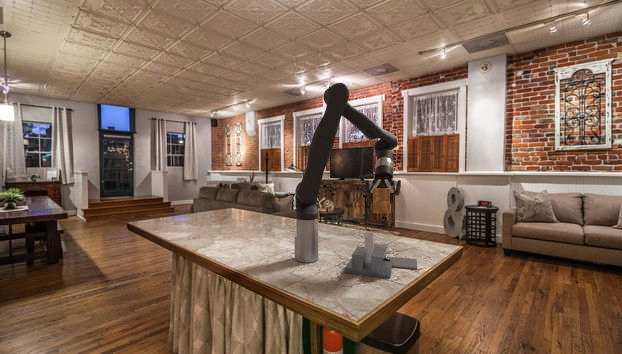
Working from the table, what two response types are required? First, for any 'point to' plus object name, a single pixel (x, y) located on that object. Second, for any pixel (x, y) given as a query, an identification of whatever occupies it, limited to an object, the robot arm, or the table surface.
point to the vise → (370, 260)
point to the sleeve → (381, 200)
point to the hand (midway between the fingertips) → (381, 202)
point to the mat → (403, 262)
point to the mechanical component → (382, 246)
